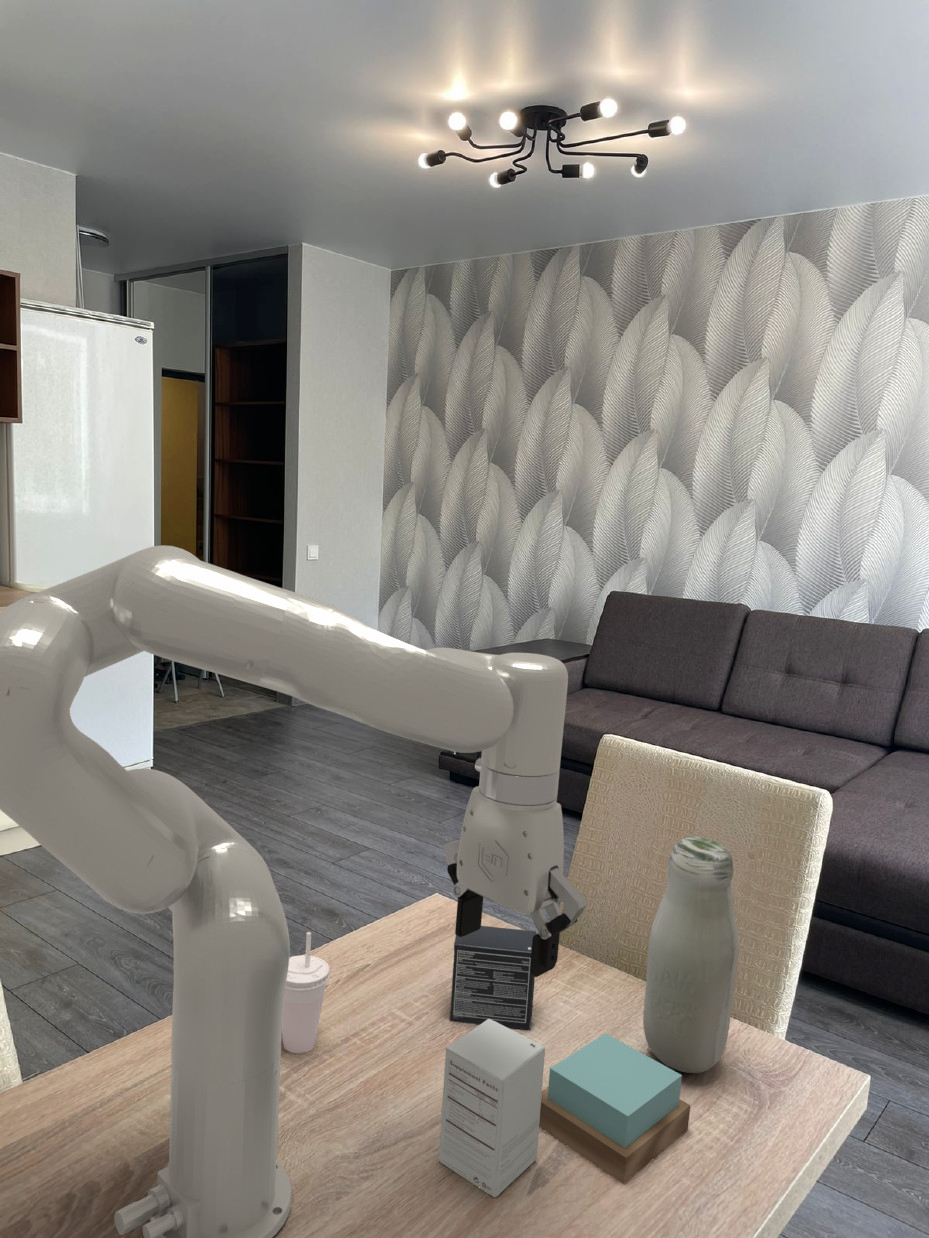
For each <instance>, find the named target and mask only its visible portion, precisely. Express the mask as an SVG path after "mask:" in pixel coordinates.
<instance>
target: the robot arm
mask: <svg viewBox="0 0 929 1238" xmlns="http://www.w3.org/2000/svg"><path fill="white" fill-rule="evenodd" d="M143 652H145V653H149V654H151V655H154V656H157V657H159V658H162V659H166V660H170V661H173V662H175V663H180V664H183V665H187V666H190V667H193V668H196V669H200V670H204V671H208V672H212V673H214V674H218V675H220V676H225V677H228V678H232V679H235V680H238V681H241V682H245V683H247V684H252V685H255V686H258V687H262V688H266V689H269V690H272V691H276V692H279V693H282V694H285V695H287V696H291V697H292V698H296V699H298V700H300V701H303V702H305V703H306V704H309V705H312V706H314V707H316V708H320V709H321V710H322V709H323V710H326V711H328V712H332V713H335V714H337V715H340V716H344V717H346V718H349V719H351V720H354V721H355V722H359V723H361V724H364V725H366V726H369V727H372V728H375V729H377V730H381V731H382V732H386V733H389V734H392V735H395V736H397V737H400V738H404V739H407V740H411V741H415V742H419V743H421V744H426V745H428V746H432V747H436V748H439V749H443V750H446V751H451V752H455V753H461V754H463V753H465V754H468V753H469V754H470V753H471V754H472V753H478V752H481V757H478V759H476V760H475V763H474V769H475V770H476V771H477V772H478V773H479V784H478V786H475V787H474V788H473V789H472V790H471V793H470V796H469V799H468V801H467V802H468V803H467V806H466V809H465V814H464V817H463V822H462V827H461V831H460V833H461V834H460V838H459V839H456V840H453V841H450V842H446V843H444V844H443V845H442V849H443V852H444V857H445V861H446V864H447V865H448V866H447V869H446V871H447V873H448V875H449V877H450V879H451V882H452V883H453V887H452V891H453V894H454V896H455V897H456V898H457V905H456V907H457V908H456V918H455V930H454V931H455V932H454V934H455V936H456V935H457V936H459V937H463V936H465V935H468V934H470V933H472V932H475V931H477V930H479V929H480V928H481V926H482V918H483V907H484V906H483V905H484V898H485V899H487V900H489V901H491V902H493V903H495V904H497V905H500V906H501V907H504V908H506V909H508V910H510V911H512V912H514V913H517V914H519V915H524V916H529V915H530V918H531V919H532V921H533V924H534V926H535V929H536V932H537V934H536V935H534V937H533V940H532V951H531V961H530V974H531V975H532V976H534V977H535V978H538V977H540V976H542V975H543V974H545V973H548V972H549V971H552V970H553V969H554V968H555V966H556V965H557V962H558V957H559V947H560V936H561V933H562V932H565V931H566V930H567V929H568V928H570V927H571V926H573V925H574V924H576V923H578V918H579V917H581V915H582V914H583V912H584V910H585V909H586V907H587V905H588V902H587V900H586V898H585V897H584V896H583V894H581V892H580V891H579V890H578V889H577V888H576V887H575V886H574V885H573V884H572V882H570V880H569V879H568V878H567V877H566V876H565V875H564V862H565V855H564V854H565V845H564V844H565V841H564V840H565V836H564V822H563V821H564V820H563V811H562V804H560V803H558V802H557V801H558V793H559V792H558V791H559V782H560V781H559V780H560V768H561V758H562V748H563V736H564V726H565V716H566V705H567V698H568V697H567V695H568V685H569V674H568V670H567V667H566V666H565V664H564V662H562V661H561V660H559V659H557V658H555V657H552V656H550V655H545V654H540V653H534V652H533V653H531V652H507V653H502V654H492V653H484V652H477V651H470V650H465V649H461V648H460V649H459V648H452V647H434V648H428V649H424V648H421V647H418V646H415V645H412V644H410V643H407V642H406V641H405V642H404V641H402V640H400V639H397V638H395V637H393V636H390V635H388V634H385V633H384V632H381V631H379V630H377V629H375V628H373V627H371V626H369V625H367V624H365V623H363V622H362V621H360V620H358V619H357V618H355V617H353V616H352V615H350V614H348V613H346V612H345V611H343V610H341V609H340V608H337V607H336V606H333V605H330V604H328V603H326V602H324V601H321V600H319V599H317V598H314V597H311V596H307V595H306V594H305V595H304V594H301V593H298V592H296V591H295V592H294V591H292V590H288V589H285V588H283V587H279V586H276V585H274V584H270V583H267V582H265V581H261V580H259V579H255V578H252V577H249V576H247V575H243V574H241V573H238V572H236V571H232V570H230V569H226V568H223V567H220V566H217V565H215V564H212V563H209V562H205V561H202V560H200V559H199V558H198V557H197V556H196V555H193V553H191V552H189V551H187V550H185V549H184V548H180V547H176V546H174V545H164V544H163V545H155V546H154V545H153V546H149V547H146V548H143V549H141V550H138V551H136V552H134V553H131V554H129V555H127V556H124V557H122V558H120V559H116V560H115V561H113V562H110V563H108V564H106V565H103V566H101V567H99V568H95V569H93V570H91V571H87V572H86V573H83V574H81V575H78V576H76V577H73V578H71V579H68V580H66V581H63V582H61V583H58V584H56V585H53V586H51V587H48V588H45V589H43V590H40V591H38V592H35V593H33V594H31V595H28V596H26V597H23V598H21V599H19V600H16V601H14V602H13V603H11V604H8V606H6V607H4V608H3V609H2V610H0V811H1V812H2V813H4V814H5V815H6V816H7V817H8V818H10V819H11V820H12V821H13V822H14V823H16V824H17V825H18V826H19V827H20V828H21V829H23V831H25V832H27V834H29V836H31V837H32V839H34V840H35V841H36V842H37V843H38V844H39V845H41V847H42V848H44V849H45V850H46V851H47V852H48V853H50V854H51V855H52V857H54V858H56V860H58V861H59V862H60V863H61V864H62V865H64V866H65V867H66V868H67V869H68V870H70V871H71V872H72V873H74V874H75V875H76V876H77V877H78V878H79V879H80V880H81V881H83V882H84V883H85V884H86V885H87V886H89V887H90V889H92V890H93V891H94V892H95V893H96V894H97V895H98V896H99V897H101V898H102V899H103V900H105V901H106V902H107V903H109V904H111V905H112V906H114V907H116V908H118V909H119V910H122V911H126V912H129V913H133V914H141V915H142V914H143V915H144V914H145V915H146V914H151V913H158V912H160V911H163V910H165V909H167V908H168V909H169V910H170V911H171V914H172V915H171V916H172V918H171V919H172V921H171V922H172V923H171V924H172V926H171V927H172V936H173V937H172V939H173V988H172V991H173V992H172V993H173V994H172V1010H171V1011H172V1013H171V1015H172V1016H171V1039H170V1040H171V1043H170V1045H171V1050H170V1051H171V1052H170V1061H171V1064H170V1065H171V1069H170V1070H171V1071H170V1101H169V1103H170V1108H169V1109H170V1111H169V1112H170V1113H169V1143H168V1144H169V1146H168V1147H169V1151H168V1152H169V1153H168V1166H167V1167H164V1168H162V1169H160V1170H158V1171H157V1179H156V1180H157V1181H156V1182H157V1185H156V1186H155V1187H152V1188H151V1189H149V1190H148V1191H147V1196H146V1197H144V1198H142V1199H140V1200H138V1201H133V1202H131V1203H130V1204H127V1205H126V1206H124V1207H122V1208H120V1209H118V1210H116V1211H115V1213H114V1215H113V1216H114V1217H113V1218H114V1226H115V1228H116V1231H117V1232H118V1234H119V1235H121V1236H124V1235H125V1234H127V1233H130V1232H131V1231H133V1230H135V1229H137V1228H138V1227H140V1226H142V1225H143V1224H144V1222H147V1221H149V1222H147V1223H146V1224H144V1225H143V1226H142V1233H143V1238H273V1237H275V1236H276V1235H277V1233H278V1232H279V1231H280V1230H281V1228H282V1227H283V1226H284V1224H285V1223H286V1220H288V1217H289V1215H290V1210H291V1207H292V1199H293V1198H292V1197H293V1189H292V1181H291V1179H290V1177H289V1175H288V1173H287V1171H286V1170H285V1169H284V1167H283V1166H282V1165H281V1164H280V1163H279V1162H278V1161H277V1153H278V1130H279V1129H278V1128H279V1127H278V1126H279V1124H278V1123H279V1107H280V1106H279V1104H280V1085H281V1083H280V1080H281V1061H282V1059H281V1058H282V1055H281V1054H282V1046H281V1045H282V1013H283V1001H284V992H285V986H286V979H287V973H288V967H289V958H290V957H291V955H290V951H291V950H290V949H291V947H290V935H289V934H290V933H289V927H288V922H287V918H286V914H285V911H284V910H285V909H284V908H283V904H282V901H281V898H280V895H279V893H278V891H277V889H276V886H275V883H274V880H273V876H272V874H271V871H270V869H269V867H268V864H267V863H266V861H265V859H264V858H263V857H262V855H261V854H260V853H259V852H258V850H256V848H255V847H254V846H252V845H251V844H250V842H248V840H246V838H244V837H243V836H242V835H241V834H240V833H238V832H237V831H236V830H235V828H233V827H232V826H231V825H230V824H229V823H228V822H227V821H226V820H224V819H223V817H221V816H220V815H219V814H218V813H216V811H214V809H212V808H211V807H210V806H209V805H208V804H207V803H206V802H205V801H204V800H203V799H202V798H201V797H199V795H197V794H196V793H195V792H194V791H193V790H192V789H191V788H190V787H189V786H188V785H186V784H185V783H184V782H182V781H180V780H179V779H177V778H176V777H174V776H172V774H169V773H168V772H167V773H166V772H164V771H162V770H161V771H160V770H157V769H153V768H152V769H151V768H134V769H128V770H127V768H125V767H123V766H122V765H121V764H120V763H119V762H118V761H117V760H116V759H115V758H114V757H113V756H112V754H111V753H110V752H109V751H107V750H106V749H105V748H103V747H102V746H101V745H100V744H99V743H97V742H96V741H95V740H93V739H92V738H90V737H89V736H88V735H86V734H84V733H83V732H82V731H80V730H79V728H78V727H77V726H76V725H75V724H74V722H73V720H72V716H71V707H72V704H73V702H74V699H75V697H76V696H77V694H78V692H79V691H80V688H81V686H82V684H83V681H84V679H85V678H86V677H87V676H90V675H92V674H94V673H96V672H99V671H102V670H104V669H107V668H109V667H110V666H113V665H115V664H118V663H121V662H122V661H124V660H127V659H130V658H131V657H133V656H134V657H135V656H136V655H138V654H140V653H143ZM559 900H561V901H562V903H563V905H564V907H563V909H562V910H561V909H560V907H559V905H558V902H559ZM544 909H545V911H546V914H547V916H548V918H549V921H548V920H547V916H546V914H545V913H544ZM561 911H562V912H561Z"/></svg>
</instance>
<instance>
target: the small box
mask: <svg viewBox="0 0 929 1238" xmlns="http://www.w3.org/2000/svg"><path fill="white" fill-rule="evenodd" d="M536 934H538V931H537V930H536V931H535V930H525V929H517V928H516V929H515V928H509V927H508V928H507V927H499V926H497V927H496V926H488V925H487V926H486V925H481V928H480V929H479V930H477V931H475V932H472V933H470V934H468V935H465V936H463V937H459V936H457V935H456V934H455V938H454V941H453V964H452V965H453V966H452V977H451V978H452V982H451V994H450V995H451V997H450V1007H449V1008H450V1009H449V1014H448V1015H449V1017H448V1020H449V1021H451V1022H459V1023H467V1024H475V1025H480V1024H482V1023H483V1022H484V1021H486V1020H487V1019H491V1020H493V1021H495V1022H497V1023H499V1024H501V1025H503V1026H505V1027H507V1028H509V1029H520V1030H530V1029H532V1027H533V1022H532V1020H533V1009H534V1008H533V1005H534V995H535V993H534V990H535V979H536V977H534V976H532V975H531V974H530V961H531V951H532V940H533V937H534V935H536Z"/></svg>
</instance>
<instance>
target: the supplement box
mask: <svg viewBox="0 0 929 1238" xmlns="http://www.w3.org/2000/svg"><path fill="white" fill-rule="evenodd" d="M545 1057H546V1047H545V1046H543V1044H540V1043H538V1042H536V1041H534V1040H533V1039H531V1038H529V1037H527V1036H525V1035H523V1034H521V1033H519V1032H517V1031H515V1030H513V1029H512V1028H510V1027H505V1026H503V1025H501V1024H499V1023H497V1022H495V1021H493V1020H491V1019H487V1020H486V1021H484V1022H483V1023H482V1024H478V1025H477V1026H476V1027H475V1028H473V1029H471V1030H470V1031H469V1032H467V1033H466V1034H464V1035H463V1036H461V1037H460V1038H458V1039H457V1040H455V1041H454V1042H452V1043H451V1044H450V1045H448V1046H446V1048H445V1060H444V1073H443V1074H444V1075H443V1087H442V1088H443V1089H442V1102H441V1103H442V1104H441V1105H442V1107H441V1120H440V1136H439V1137H440V1138H439V1153H438V1155H439V1156H438V1160H439V1162H440V1163H441V1164H443V1165H444V1166H445V1167H447V1168H448V1169H450V1170H451V1171H453V1172H454V1173H456V1174H457V1175H459V1176H461V1178H463V1179H465V1180H467V1182H469V1183H471V1184H472V1183H473V1184H472V1185H474V1186H475V1185H476V1186H475V1187H477V1186H478V1187H480V1188H479V1189H480V1190H482V1191H483V1192H485V1191H486V1192H485V1193H486V1194H488V1195H489V1194H490V1196H491V1197H493V1198H497V1197H498V1196H499V1195H500V1194H501V1193H502V1192H503V1191H504V1190H505V1189H506V1188H508V1187H509V1186H510V1185H511V1184H512V1183H513V1182H514V1181H515V1180H516V1179H518V1177H519V1176H520V1175H522V1173H524V1172H525V1171H526V1170H527V1169H528V1168H529V1167H530V1166H531V1165H532V1164H533V1163H534V1162H536V1161H537V1157H538V1144H539V1130H540V1127H539V1121H540V1108H541V1096H542V1091H543V1083H544V1081H543V1080H544V1068H545ZM478 1187H477V1188H478Z"/></svg>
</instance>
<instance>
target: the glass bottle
mask: <svg viewBox="0 0 929 1238" xmlns="http://www.w3.org/2000/svg"><path fill="white" fill-rule="evenodd" d="M667 864H668V865H667V872H668V873H667V881H666V886H665V892H664V894H663V896H662V898H661V901H660V903H659V906H658V909H657V911H656V914H655V917H654V919H653V922H652V925H651V929H650V934H649V941H648V946H647V947H648V948H647V966H646V982H645V983H646V984H645V993H644V1003H643V1016H642V1017H643V1018H642V1022H643V1023H642V1024H643V1032H644V1036H645V1040H646V1044H647V1045H648V1047H649V1049H650V1051H651V1052H652V1053H653V1054H654V1056H655V1057H656V1059H658V1060H659V1061H660V1062H662V1064H663V1065H664V1066H666V1067H668V1068H670V1069H672V1070H675V1071H678V1072H682V1073H685V1074H686V1073H687V1074H701V1073H703V1072H706V1071H708V1070H709V1069H711V1068H713V1067H714V1066H715V1065H716V1064H717V1063H718V1062H719V1061H720V1060H721V1059H722V1057H723V1055H724V1052H725V1049H726V1046H727V1042H728V1037H729V1031H730V1023H731V1016H732V1009H733V1001H734V993H735V985H736V978H737V970H738V969H737V968H738V961H739V952H740V940H739V930H738V924H737V923H738V922H737V918H736V915H735V909H734V903H733V902H734V900H733V891H732V879H733V875H734V861H733V857H732V855H731V853H730V851H729V850H728V849H727V848H725V847H724V845H722V844H720V843H718V842H717V841H714V840H713V839H710V838H705V837H701V836H687V837H685V838H682V839H680V840H679V841H677V842H676V844H675V845H674V846H673V849H672V850H671V853H670V855H669V859H668V863H667Z"/></svg>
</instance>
